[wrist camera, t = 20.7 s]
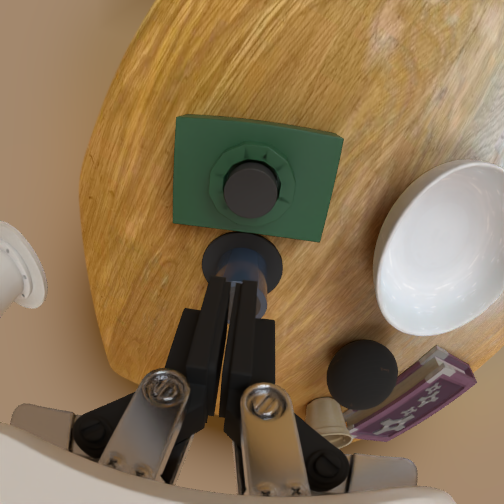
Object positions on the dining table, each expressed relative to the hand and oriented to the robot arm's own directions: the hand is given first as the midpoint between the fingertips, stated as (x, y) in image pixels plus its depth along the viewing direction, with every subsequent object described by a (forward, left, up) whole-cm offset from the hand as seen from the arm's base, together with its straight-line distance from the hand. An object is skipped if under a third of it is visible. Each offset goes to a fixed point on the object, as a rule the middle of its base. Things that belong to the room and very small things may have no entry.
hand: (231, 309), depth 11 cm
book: (+35, -37, -19) cm, 54 cm away
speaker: (+18, -23, -19) cm, 35 cm away
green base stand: (0, 0, -19) cm, 19 cm away
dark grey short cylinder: (0, 0, -14) cm, 14 cm away
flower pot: (+18, -40, -19) cm, 48 cm away
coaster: (0, -11, -19) cm, 22 cm away
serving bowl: (+22, -3, -19) cm, 29 cm away
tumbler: (0, -11, -19) cm, 22 cm away
